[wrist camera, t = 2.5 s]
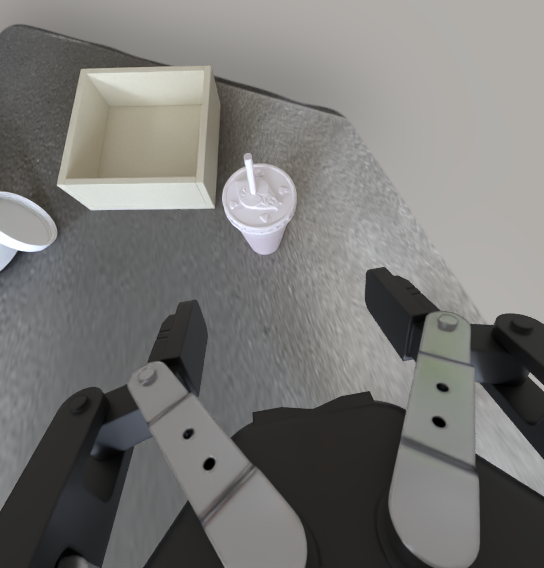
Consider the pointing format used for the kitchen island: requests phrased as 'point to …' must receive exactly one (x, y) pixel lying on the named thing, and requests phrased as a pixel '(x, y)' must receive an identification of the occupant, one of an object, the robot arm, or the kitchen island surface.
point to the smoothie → (260, 203)
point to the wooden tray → (143, 139)
